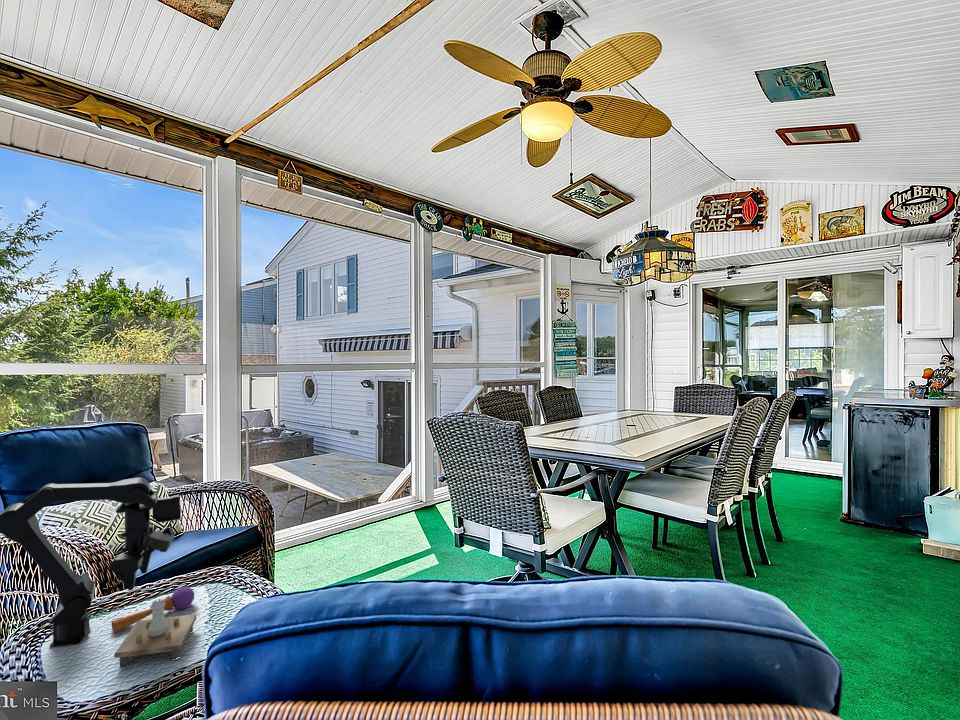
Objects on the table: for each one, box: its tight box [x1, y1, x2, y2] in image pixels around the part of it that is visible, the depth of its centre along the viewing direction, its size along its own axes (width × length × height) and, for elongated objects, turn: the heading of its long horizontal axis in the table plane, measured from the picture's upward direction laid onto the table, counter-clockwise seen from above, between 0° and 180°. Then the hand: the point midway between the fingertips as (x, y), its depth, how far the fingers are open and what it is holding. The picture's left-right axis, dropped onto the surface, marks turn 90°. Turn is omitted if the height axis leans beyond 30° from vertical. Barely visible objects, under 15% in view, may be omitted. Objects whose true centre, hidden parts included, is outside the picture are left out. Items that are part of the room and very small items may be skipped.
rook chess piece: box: [148, 599, 168, 637], centre depth 128 cm, size 4×4×8 cm
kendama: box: [110, 586, 195, 634], centre depth 142 cm, size 6×6×20 cm
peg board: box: [114, 613, 197, 668], centre depth 128 cm, size 14×14×6 cm
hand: (137, 581), depth 138 cm, fingers open, 9 cm apart
